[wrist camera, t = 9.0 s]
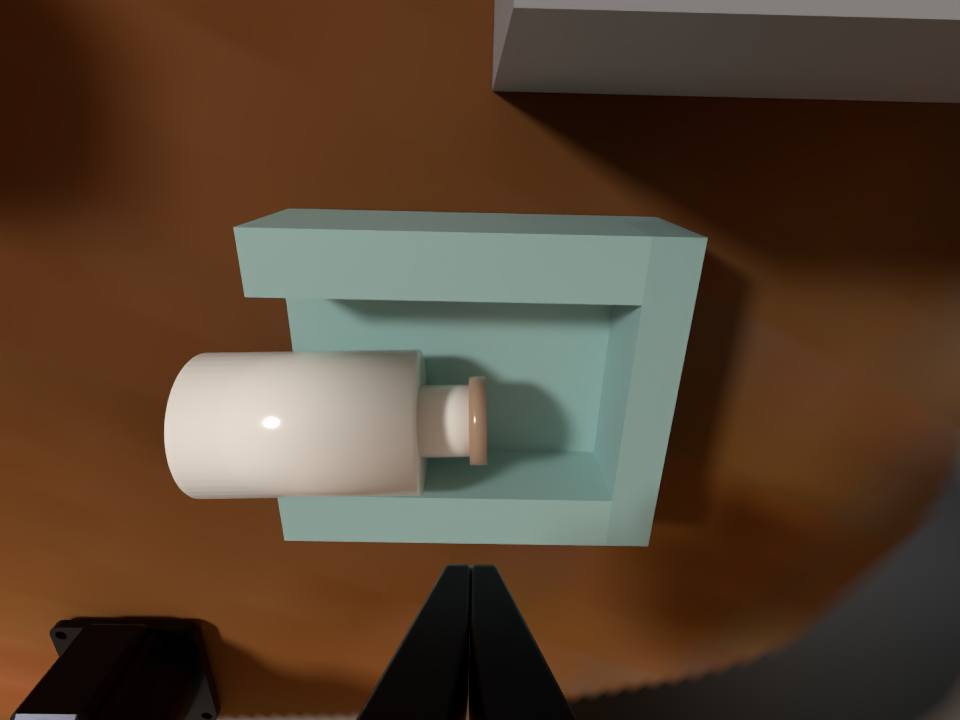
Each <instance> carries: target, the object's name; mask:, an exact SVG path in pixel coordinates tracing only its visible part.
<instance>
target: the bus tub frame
mask: <svg viewBox="0 0 960 720" xmlns="http://www.w3.org/2000/svg"><path fill="white" fill-rule="evenodd" d="M492 91H504V92H544V93H583V94H623V95H662V96H702V97H742V98H781V99H821V100H860V101H900V102H939V103H960V0H495V12H494V48H493V84H492Z"/></svg>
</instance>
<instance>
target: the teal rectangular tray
mask: <svg viewBox="0 0 960 720" xmlns="http://www.w3.org/2000/svg"><path fill="white" fill-rule="evenodd" d="M233 228H234V234H235V240H236V246H237V252H238V258H239V264H240V271H241V277H242V283H243V289H244V295H245V297H263V298H286V302H287V310H288V317H289V325H290V333H291V340H292V348H293V351H354V350H414V349H420V350H421V351H422V353H423V356H424V361H425V367H426V375H427V385H466V384H469V376H486V407H487V465H470V457H441V458H428V460H427V471H426V479H425V485H424V489H423V492H422V494H421V495H420V496H360V497H294V498H278V503H279V509H280V515H281V521H282V528H283V534H284V540H285V541H346V542H409V543H473V544H536V545H599V546H648V543H649V538H650V533H651V528H652V523H653V517H654V512H655V507H656V502H657V497H658V492H659V487H660V481H661V476H662V471H663V466H664V461H665V456H666V451H667V445H668V440H669V435H670V430H671V425H672V420H673V415H674V409H675V404H676V399H677V394H678V389H679V384H680V379H681V373H682V368H683V363H684V358H685V353H686V348H687V343H688V337H689V332H690V327H691V322H692V317H693V312H694V307H695V301H696V296H697V291H698V286H699V281H700V276H701V271H702V265H703V260H704V255H705V250H706V245H707V240H708V238H707V237H705V236H702V235H700V234H697V233H695V232H692V231H690V230H687V229H685V228H683V227H680V226H678V225H675V224H673V223H670V222H668V221H665V220H663V219H660V218H658V217H636V216H592V215H548V214H504V213H460V212H416V211H372V210H328V209H286V210H283V211H280V212H277V213H274V214H271V215H268V216H265V217H262V218H259V219H256V220H253V221H250V222H247V223H245V224H242V225H239V226H236V227H233Z"/></svg>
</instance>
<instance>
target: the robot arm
mask: <svg viewBox="0 0 960 720" xmlns="http://www.w3.org/2000/svg"><path fill="white" fill-rule="evenodd" d="M470 590H471V601H470ZM469 635H470V646H469ZM50 637H51V639H52V641H53V644H54V646H55V648H56V650H57V653H58V655H59V658H58V659H57V660H56V662H55V663H54V664H53V665H52V666H51V668H50V669H49V670H48V671H47V673H46V674H45V675H44V676H43V677H42V679H41V680H40V681H39V682H38V684H37V685H36V686H35V687H34V688H33V690H32V691H31V692H30V693H29V695H28V696H27V697H26V698H25V699H24V701H23V702H22V703H21V704H20V706H19V707H18V708H17V709H16V710H15V712H14V713H13V714H12V716H11V718H10V720H216V719H217V717H218V715H219V713H220V711H221V707H220V703H219V700H218V696H217V692H216V689H215V685H214V681H213V678H212V674H211V670H210V666H209V663H208V659H207V655H206V652H205V648H204V644H203V641H202V637H201V633H200V630H199V628H198V626H197V625H195V624H194V623H191V622H178V621H107V620H60V621H59V622H57V623H56V625H55V626H54V627H53V628H52V629H51V630H50ZM468 679H469V720H576V718H575V716H574V714H573V712H572V710H571V708H570V706H569V704H568V702H567V701H566V699H565V697H564V695H563V693H562V691H561V689H560V687H559V685H558V683H557V681H556V680H555V678H554V676H553V674H552V672H551V670H550V668H549V666H548V664H547V662H546V660H545V658H544V657H543V655H542V653H541V651H540V649H539V647H538V645H537V643H536V641H535V639H534V637H533V636H532V634H531V632H530V630H529V628H528V626H527V624H526V622H525V620H524V618H523V616H522V615H521V613H520V611H519V609H518V607H517V605H516V603H515V601H514V599H513V597H512V595H511V594H510V592H509V590H508V588H507V586H506V584H505V582H504V580H503V578H502V576H501V574H500V573H499V571H498V569H497V567H496V566H494V565H481V564H475V565H473V566H472V568H471V567H470V566H469V565H468V564H448V565H447V566H446V567H445V568H444V570H443V571H442V573H441V575H440V577H439V578H438V580H437V582H436V583H435V585H434V587H433V589H432V590H431V592H430V594H429V595H428V597H427V599H426V601H425V602H424V604H423V606H422V607H421V609H420V611H419V613H418V614H417V616H416V618H415V619H414V621H413V623H412V625H411V626H410V628H409V630H408V631H407V633H406V635H405V637H404V638H403V640H402V642H401V644H400V645H399V647H398V649H397V650H396V652H395V654H394V656H393V657H392V659H391V661H390V662H389V664H388V666H387V668H386V669H385V671H384V673H383V674H382V676H381V678H380V680H379V681H378V683H377V685H376V686H375V688H374V690H373V692H372V693H371V695H370V697H369V698H368V700H367V702H366V704H365V705H364V707H363V709H362V710H361V712H360V714H359V716H358V717H357V719H356V720H466V717H467V706H468Z"/></svg>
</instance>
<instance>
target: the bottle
mask: <svg viewBox="0 0 960 720" xmlns="http://www.w3.org/2000/svg"><path fill="white" fill-rule="evenodd" d="M164 440H165V450H166V456H167V461H168V465H169V468H170V471H171V474H172V476H173V478H174V480H175V482H176V483H177V485H178V486H179V488H180V489H181V490H182V491H183V492H184V493H185V494H187V495H188V496H190V497H192V498H196V499H228V498H294V497H360V496H420V495H421V494H422V492H423V489H424V485H425V479H426V471H427V460H428V458H441V457H470V465H487V407H486V376H469V384H466V385H427V375H426V367H425V361H424V356H423V353H422V351H421V350H420V349H414V350H354V351H293V352H232V353H203V354H199V355H197V356H195V357H193V358H192V359H191V360H190V361H188V363H187V364H186V365H185V366H184V367H183V368H182V370H181V371H180V373H179V374H178V376H177V378H176V380H175V382H174V385H173V387H172V390H171V393H170V396H169V399H168V404H167V409H166V415H165V426H164Z"/></svg>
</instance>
